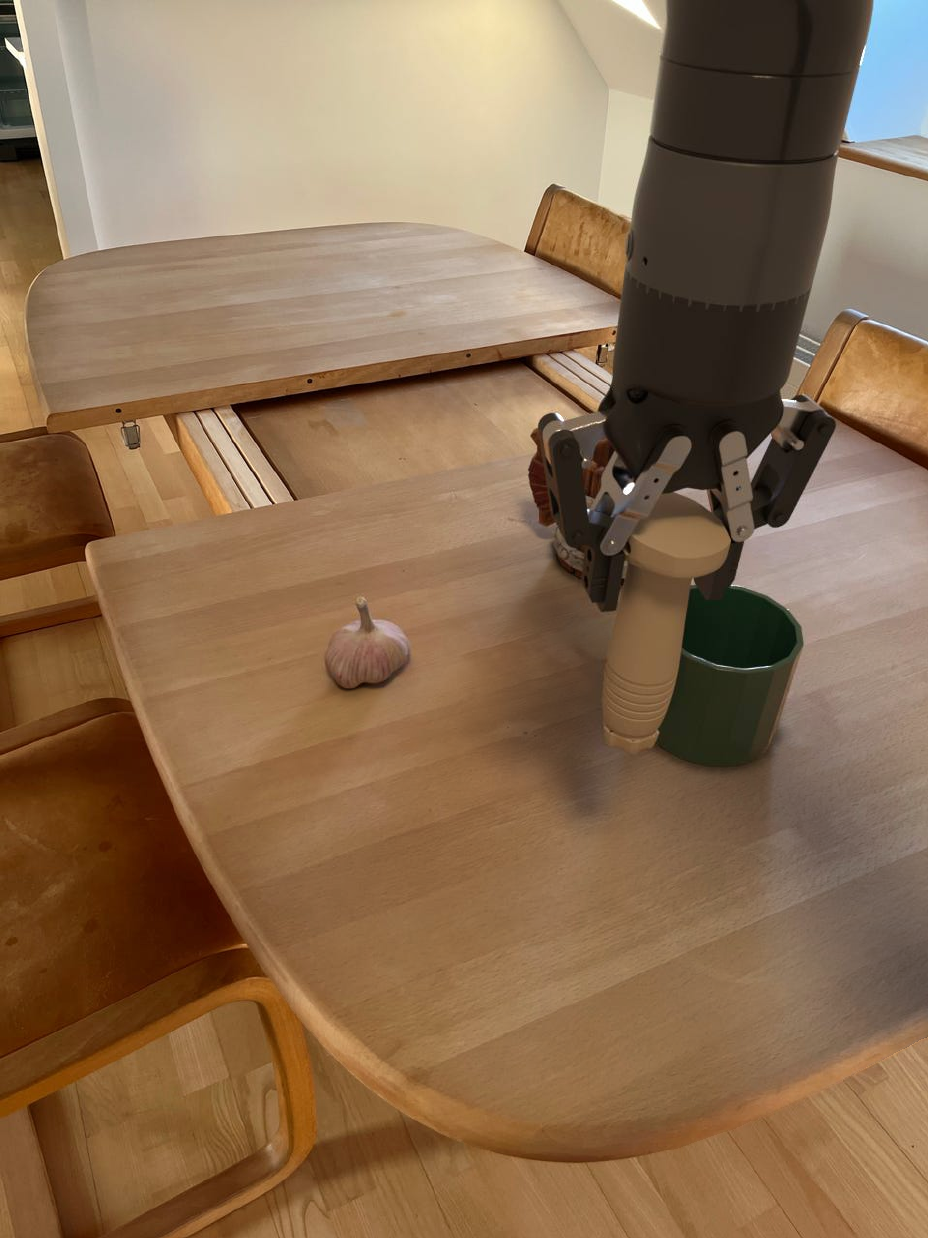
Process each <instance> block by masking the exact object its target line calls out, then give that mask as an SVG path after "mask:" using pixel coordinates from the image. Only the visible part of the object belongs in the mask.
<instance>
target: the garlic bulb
mask: <svg viewBox="0 0 928 1238" xmlns="http://www.w3.org/2000/svg"><path fill="white" fill-rule="evenodd" d="M355 606H356V609H357V611H358V613H359V616H360V619H359V620H353V621H350V622H348V623H346V624H345V625H344V626H343V627H341V628H339V629H338V630H336V631H335V632H334V633H333V634H332V636H331V637H330V639H329V642H328V647H327V649H326V651H325V654H324V666H325V668H326V670H327V671H328V672H329V673H330V674H331V675H332V676H333V678H334V680H335V682H336V683H337V684H338V685H339V686H340V687H342V688H345V689H354V688H356V687H358V686H359V685H361V684H363V683H369V684H378V683H381V682H384V681H386V680H387V679H388V678H389V677H390V676H391V675H392V673H394V672H395V671H397V670H399V669H400V668H401V667H402V666H403V665H404V664H405V663H406V662H407V661H408V660H409V658H410V656H411V653H412V652H411V651H412V646H411V643H410V641H409V639H408V637H407V636H406V635H405V634H404V631H403V630H402V629H401V628H400V627H399V626H398V625H397V624H395V623H393V622H390V621H388V620H385V619H373V618H372V616H371V612H370V609H369V604H368V602H367V600H366V598H365V597H364V596H357V598H355Z"/></svg>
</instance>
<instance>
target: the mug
mask: <svg viewBox="0 0 928 1238" xmlns="http://www.w3.org/2000/svg"><path fill="white" fill-rule="evenodd" d="M530 438H531V440H532V441H533V442H534V444H535V445H536V452H535V454H534V455H533V456H532V457H531V461H530V463H529V465H528V468H527V471H528V474H527V476H528V477H527V478H528V484H529V487H530V490H531V492H532V493H531V494H532V497H533V503H534V504H536V508H537V509H538V523H539V524H540V525H541V526H544V527H546V528H548V527H550V526H552V525H554V524H556V523H555V521H554V519H553V517H552V515H551V509H550V503H549V496H548V490H547V483H546V477H545V471H544V464H543V458H542V451H541V445H540V438H539V432H538V427H536V428H534V429H533V430H532V432H531V433H530ZM614 451H615V450H614V449H613V447H612V446H611V444H610V443H609V441H608V440H607V438H606V439H603V440H601V441H600V442H599V443H598V444H597V445H596V447H595V449H594V457H593V459H592V461H591V466H590V467H589V468H587V469H583V468H582V471H583V479H584V487H585V495H586V503H587V509H590V507H591V506H592V504H593V502H594V500H595V498H596V496H597V494H598V493H599V491H600V489H601V478H602V474H603V472H604V470H605V468H606V466H607V464H608V463H609V461H610V459H611V457H612V455H613V453H614ZM633 482H634V484H635V483H636V481H635V479H634V478H633ZM551 536H552V538H554V541H553V546H554V548H555V551H556V554H557V557H558V560H559V561H560V564H561V565H562V566H563V568H565V569H566V570H567V571H568V572H570V573H571V574H573V573H574V576H576V577H577V578H579V579H581V576H582V571H583V570H582V568H583V560H584V553H585V545H584V546H582V547H579V548H572V547H570V546H568V545H567V543H566V541H565V539H564V538H563V536H562V534H561V532H560V530H559V528H558V526H557V525H556V528H554V529H553V530H552V532H551ZM627 563H628V561H626V560H625V561H624V567H623V573H622V579H621V584H623V583H624V580H625V575H626V571H627Z"/></svg>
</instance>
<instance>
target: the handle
mask: <svg viewBox="0 0 928 1238" xmlns="http://www.w3.org/2000/svg"><path fill="white" fill-rule="evenodd" d="M730 543H731V540H730V537H729V535H728V533H727V530H726V528H725V526H724V525H723V523H722V522H721V520H720V519H719V518H718V517H716V516H715V515H714V514H713V513H712V512H711V510H709V509H708V508H706V507H705V506H704V505H702V504H701V503H700V502H698V501H696V500H695V499H692V498H690V497H688V496H685V495H682V494H679V493H677V492H672V493H666V494H661V496H660V497H659V499H658V501H657V503H656V504H655V506H654V508H653V509H652V511H651V513H650V515H649V516H648V517H647V518H646V519H640V520H639V521H638V523H637V525H636V526H635V528H634V530H633V532H632V533H631V535H630V537H629V539H628V540H627V542H626V544H625V546H624V547H623V549H622V550H623V551H624V553H625V554H626V555H625V560H626V561H628V563H627V571H626V575H625V580H624V582H623V583H622V584H623V585H622V589H621V593H620V598H619V601H618V606H617V610H616V611H617V612H616V615H615V619H614V624H613V628H612V632H611V637H610V641H609V645H608V649H607V653H606V659H605V666H604V672H603V683H602V702H601V703H602V715H603V717H602V718H603V719H602V720H603V740H604V742H605V743H606V744H607V745H608V746H610V747H612V748H613V747H614V748H618V749H620V750H622V751H624V752H625V753H627V754H628V755H637V754H638V753H639V752H640V751H643V750H647V749H648V750H650V749H652V748H653V747H654V745H655V744H656V740H657V738H658V735H659V731H658V730H657V729H658V728H659V727H660V725H661V723H662V721H663V719H664V717H665V714H666V712H667V709H668V706H669V703H670V700H671V697H672V694H673V691H674V687H675V682H676V678H677V674H678V669H679V662H680V655H681V647H682V640H683V633H684V625H685V618H686V612H687V605H688V599H689V593H690V586H691V585H692V581H693V579H694V578H696V577H700V576H704V575H707V574H709V573H712V572H714V571H716V570H717V569H719V568H720V567H721V566H722V565H723V563H724V562H725V560H726V558H727V555H728V551H729V547H730Z"/></svg>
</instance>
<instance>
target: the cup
mask: <svg viewBox="0 0 928 1238" xmlns="http://www.w3.org/2000/svg"><path fill="white" fill-rule="evenodd" d="M803 635H804V634H803V628H802V626H801V624H800V623H799V621H798V620H797V619H796V618H795V616H794V615H793V613H791V610H789V609H788V608H787V607H785V606H784V605H782V604H781V603H779V602H778V601H776V600H774V599H773V598H772V597H770V596H768V595H767V594H764V593H762V592H758V591H756V590H753V589H751V588H748V587H744V586H741V585H735V584H731V586H730V587H729V588H725V589H724V593H723V597H722V598H721V599H715V600H706V599H705V598H704V596H703V595H702V593H701V592H700V590H699V589H698V588H697V586H696V585H695V584H691V586H690V593H689V599H688V605H687V612H686V618H685V625H684V633H683V640H682V647H681V655H680V662H679V669H678V674H677V678H676V682H675V687H674V691H673V694H672V697H671V700H670V703H669V706H668V709H667V712H666V714H665V717H664V719H663V721H662V723H661V725H660V727H659V728H658V729H657V730H658V731H659V735H658V738H657V740H656V742H655V744H657V745H658V746H659V747H661V748H662V749H664V750H665V751H666V752H668V753H669V754H671V755H673V756H675V757H677V758H679V759H681V760H683V761H687V762H690V763H693V764H696V765H701V766H705V767H706V766H707V767H713V768H714V767H715V768H727V767H735V766H736V767H737V766H741V765H744V764H747V763H750V762H752V761H755V760H756V759H758V758H759V757H760V756H761V755H763V754H764V753H765V752H766V751H767V750H768V748H769V747H770V746H771V744H772V740H773V738H774V735H775V733H776V732H777V730H778V726H779V723H780V720H781V717H782V714H783V711H784V707H785V705H786V701H787V698H788V695H789V692H790V689H791V686H792V682H793V679H794V677H795V674H796V671H797V667H798V664H799V661H800V658H801V655H802V652H803V649H804V645H805V643H804V636H803Z"/></svg>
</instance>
